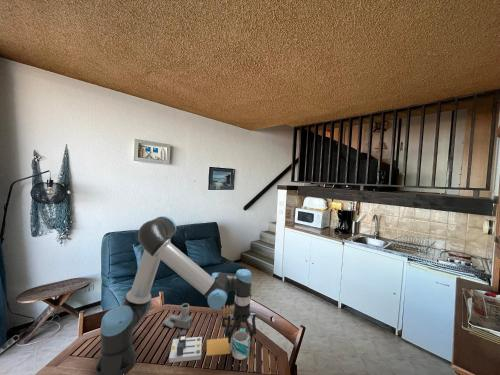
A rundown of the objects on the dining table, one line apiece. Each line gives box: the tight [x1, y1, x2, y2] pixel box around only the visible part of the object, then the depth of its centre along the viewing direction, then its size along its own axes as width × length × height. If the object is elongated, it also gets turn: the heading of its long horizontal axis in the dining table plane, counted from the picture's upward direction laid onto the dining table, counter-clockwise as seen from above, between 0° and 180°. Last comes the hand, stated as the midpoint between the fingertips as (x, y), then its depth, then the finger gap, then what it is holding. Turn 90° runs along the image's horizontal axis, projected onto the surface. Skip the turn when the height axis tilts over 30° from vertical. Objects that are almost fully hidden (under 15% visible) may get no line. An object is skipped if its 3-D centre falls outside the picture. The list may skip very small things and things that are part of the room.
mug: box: [231, 327, 250, 361], centre depth 109 cm, size 8×12×8 cm
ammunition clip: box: [221, 304, 242, 329], centre depth 126 cm, size 11×2×12 cm, turn 87°
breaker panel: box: [168, 336, 203, 364], centre depth 107 cm, size 14×12×2 cm
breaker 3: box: [177, 342, 184, 356], centre depth 103 cm, size 3×3×4 cm
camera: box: [161, 302, 193, 330], centre depth 126 cm, size 9×12×15 cm
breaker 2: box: [180, 335, 187, 349], centre depth 107 cm, size 3×3×4 cm
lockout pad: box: [206, 337, 231, 357], centre depth 110 cm, size 11×10×1 cm
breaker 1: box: [178, 330, 186, 343], centre depth 110 cm, size 3×3×4 cm
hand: (239, 348), depth 109 cm, fingers open, 8 cm apart
